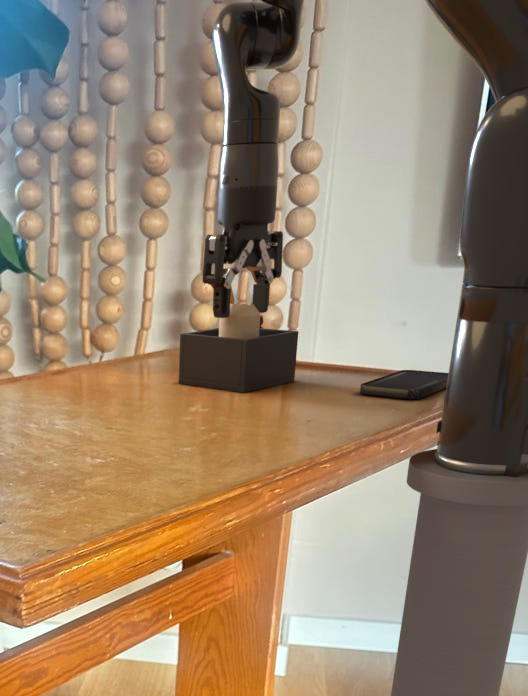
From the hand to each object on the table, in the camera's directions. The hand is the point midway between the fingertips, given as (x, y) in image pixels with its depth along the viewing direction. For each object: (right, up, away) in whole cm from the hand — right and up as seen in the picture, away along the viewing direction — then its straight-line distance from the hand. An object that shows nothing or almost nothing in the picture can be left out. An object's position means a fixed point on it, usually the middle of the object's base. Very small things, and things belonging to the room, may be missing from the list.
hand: (241, 314), depth 127 cm
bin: (0, -8, +4) cm, 9 cm away
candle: (0, -8, +4) cm, 9 cm away
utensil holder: (+5, 0, +21) cm, 22 cm away
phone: (+22, -12, -4) cm, 25 cm away
